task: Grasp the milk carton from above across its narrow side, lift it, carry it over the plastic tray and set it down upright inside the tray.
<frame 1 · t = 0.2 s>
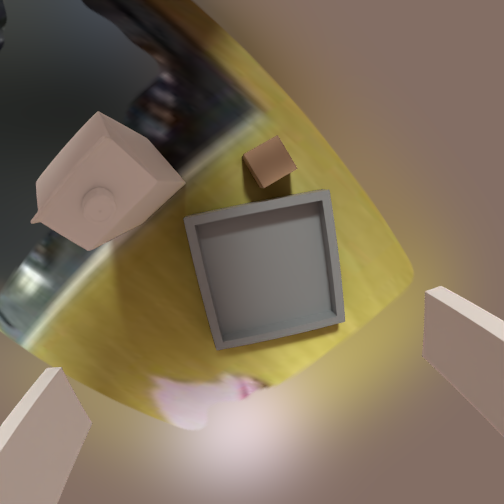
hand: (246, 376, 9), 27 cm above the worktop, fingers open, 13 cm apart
walnut block: (266, 163, 35), on the worktop
milk carton: (144, 181, 34), on the worktop
tray: (268, 268, 37), on the worktop
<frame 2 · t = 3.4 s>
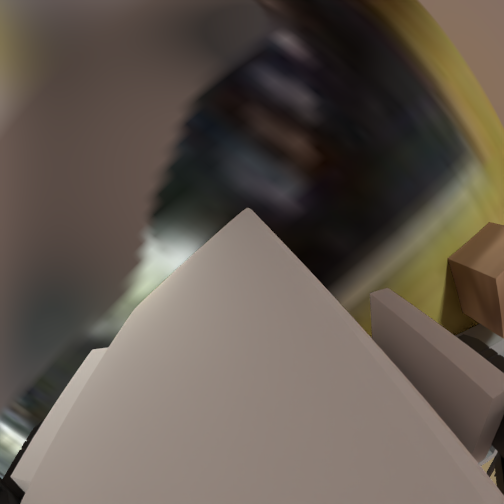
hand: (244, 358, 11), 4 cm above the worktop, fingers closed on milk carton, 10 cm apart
walnut block: (476, 267, 15), on the worktop
milk carton: (239, 315, 14), on the worktop, touching gripper
tray: (436, 424, 17), on the worktop
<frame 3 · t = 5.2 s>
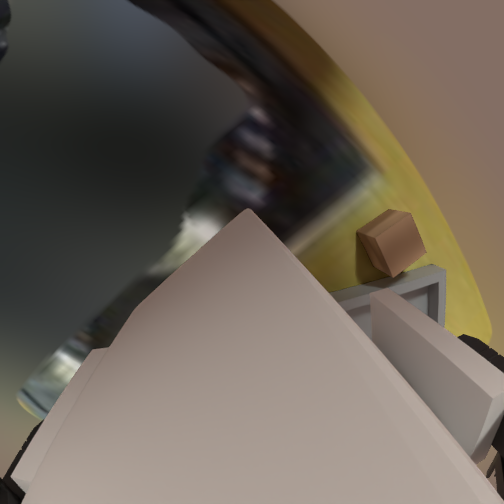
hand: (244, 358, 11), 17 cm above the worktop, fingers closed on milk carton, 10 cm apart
walnut block: (381, 237, 28), on the worktop
milk carton: (239, 315, 14), point 13 cm above the worktop, touching gripper
tray: (371, 352, 30), on the worktop
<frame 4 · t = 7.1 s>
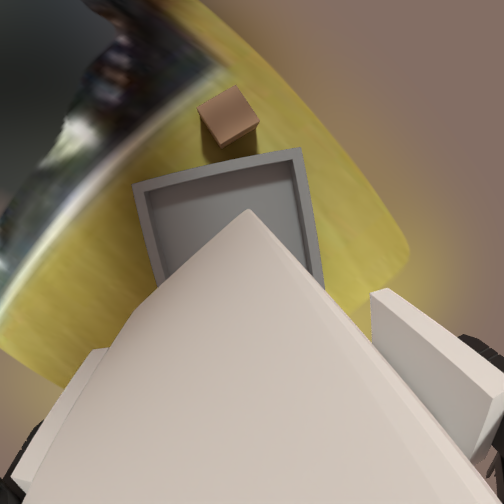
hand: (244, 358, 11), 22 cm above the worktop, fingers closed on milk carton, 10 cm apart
walnut block: (227, 122, 29), on the worktop
milk carton: (239, 316, 14), point 18 cm above the worktop, touching gripper
tray: (232, 243, 32), on the worktop
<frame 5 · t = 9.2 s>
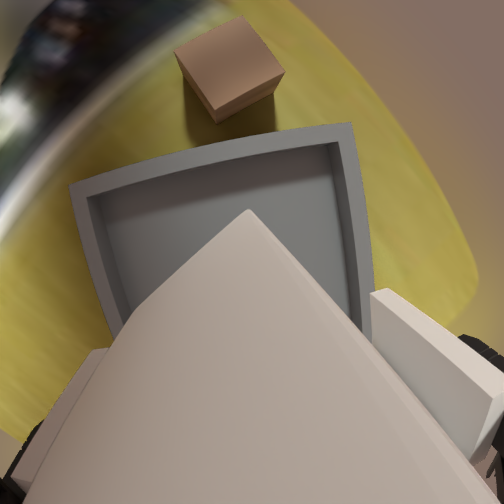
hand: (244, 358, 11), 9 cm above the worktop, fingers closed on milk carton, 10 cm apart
walnut block: (227, 82, 17), on the worktop
milk carton: (239, 316, 14), point 5 cm above the worktop, touching gripper
tray: (235, 278, 19), on the worktop
when the fingers open (6 cm above the worktop, at t = 10.9 s): milk carton drops 2 cm, resting on tray.
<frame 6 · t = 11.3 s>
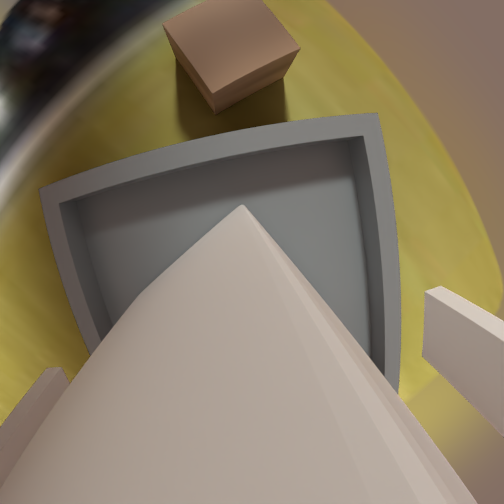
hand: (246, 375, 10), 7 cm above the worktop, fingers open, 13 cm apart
walnut block: (228, 65, 14), on the worktop
milk carton: (234, 302, 16), resting on tray
tray: (237, 299, 16), on the worktop
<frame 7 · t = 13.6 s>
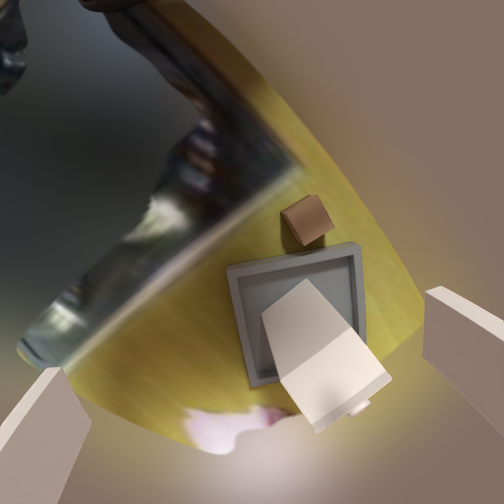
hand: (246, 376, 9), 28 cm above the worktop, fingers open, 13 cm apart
walnut block: (302, 217, 37), on the worktop
milk carton: (299, 314, 39), resting on tray
tray: (300, 313, 39), on the worktop
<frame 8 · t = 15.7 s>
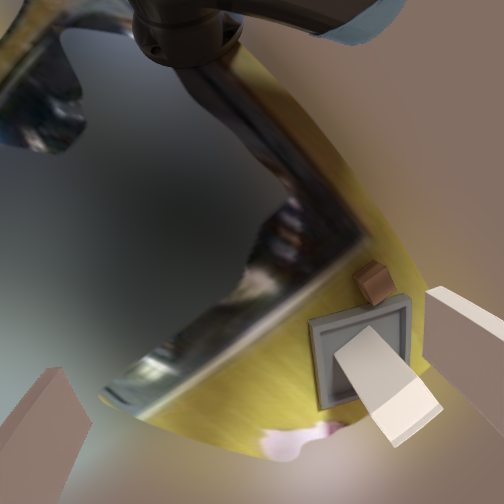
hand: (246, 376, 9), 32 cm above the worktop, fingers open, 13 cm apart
walnut block: (368, 278, 44), on the worktop
milk carton: (361, 351, 46), resting on tray
tray: (361, 350, 46), on the worktop
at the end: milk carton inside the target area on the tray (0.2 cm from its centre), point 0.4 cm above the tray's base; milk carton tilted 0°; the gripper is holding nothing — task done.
